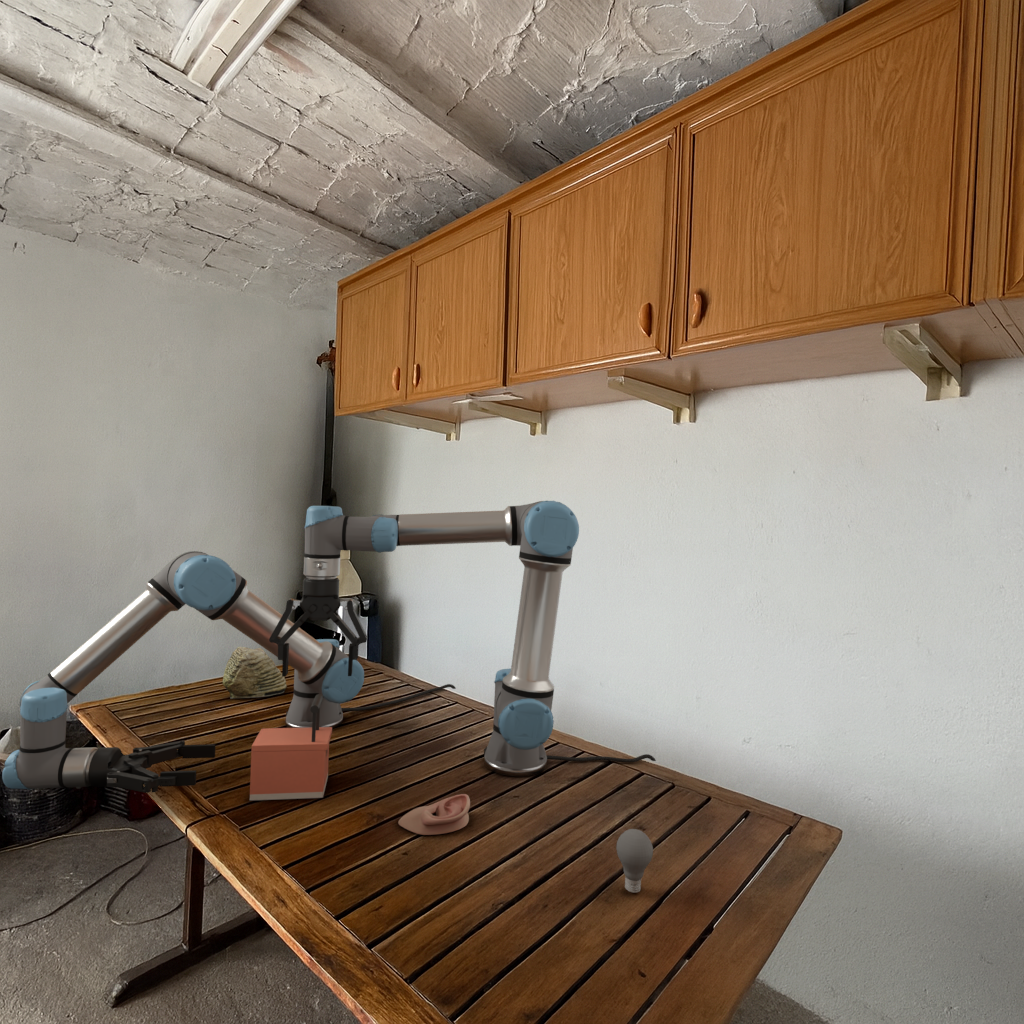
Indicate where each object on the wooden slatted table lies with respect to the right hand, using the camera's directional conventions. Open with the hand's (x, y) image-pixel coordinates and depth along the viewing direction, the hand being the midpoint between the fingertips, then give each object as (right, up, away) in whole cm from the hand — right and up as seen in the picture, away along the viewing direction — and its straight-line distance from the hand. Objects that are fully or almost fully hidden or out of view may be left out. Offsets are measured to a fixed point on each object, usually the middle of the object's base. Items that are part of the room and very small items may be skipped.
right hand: (317, 674), depth 137 cm
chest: (-6, -25, 0) cm, 25 cm away
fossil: (-38, -22, +61) cm, 75 cm away
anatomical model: (+27, -26, -12) cm, 39 cm away
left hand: (-23, -18, -4) cm, 29 cm away
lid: (-5, -14, -1) cm, 15 cm away
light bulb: (+62, -28, -32) cm, 75 cm away
